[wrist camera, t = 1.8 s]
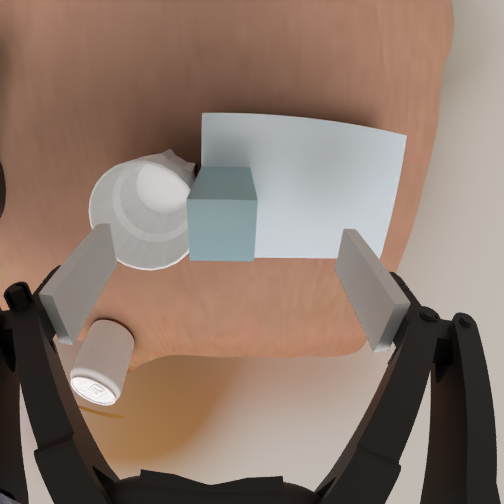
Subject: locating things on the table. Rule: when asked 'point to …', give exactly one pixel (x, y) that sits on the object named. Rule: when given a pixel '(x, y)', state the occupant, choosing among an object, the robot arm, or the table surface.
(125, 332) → the beverage can
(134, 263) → the cup
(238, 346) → the table surface
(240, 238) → the pale blue stand
